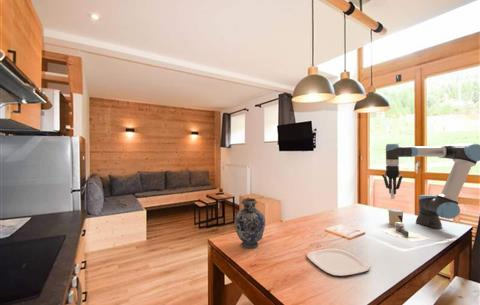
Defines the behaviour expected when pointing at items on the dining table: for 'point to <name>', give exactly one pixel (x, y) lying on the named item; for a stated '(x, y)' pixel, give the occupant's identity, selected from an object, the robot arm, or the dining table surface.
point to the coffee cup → (395, 216)
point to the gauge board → (411, 236)
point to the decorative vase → (249, 224)
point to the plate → (337, 262)
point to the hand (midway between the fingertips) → (392, 198)
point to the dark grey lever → (401, 228)
